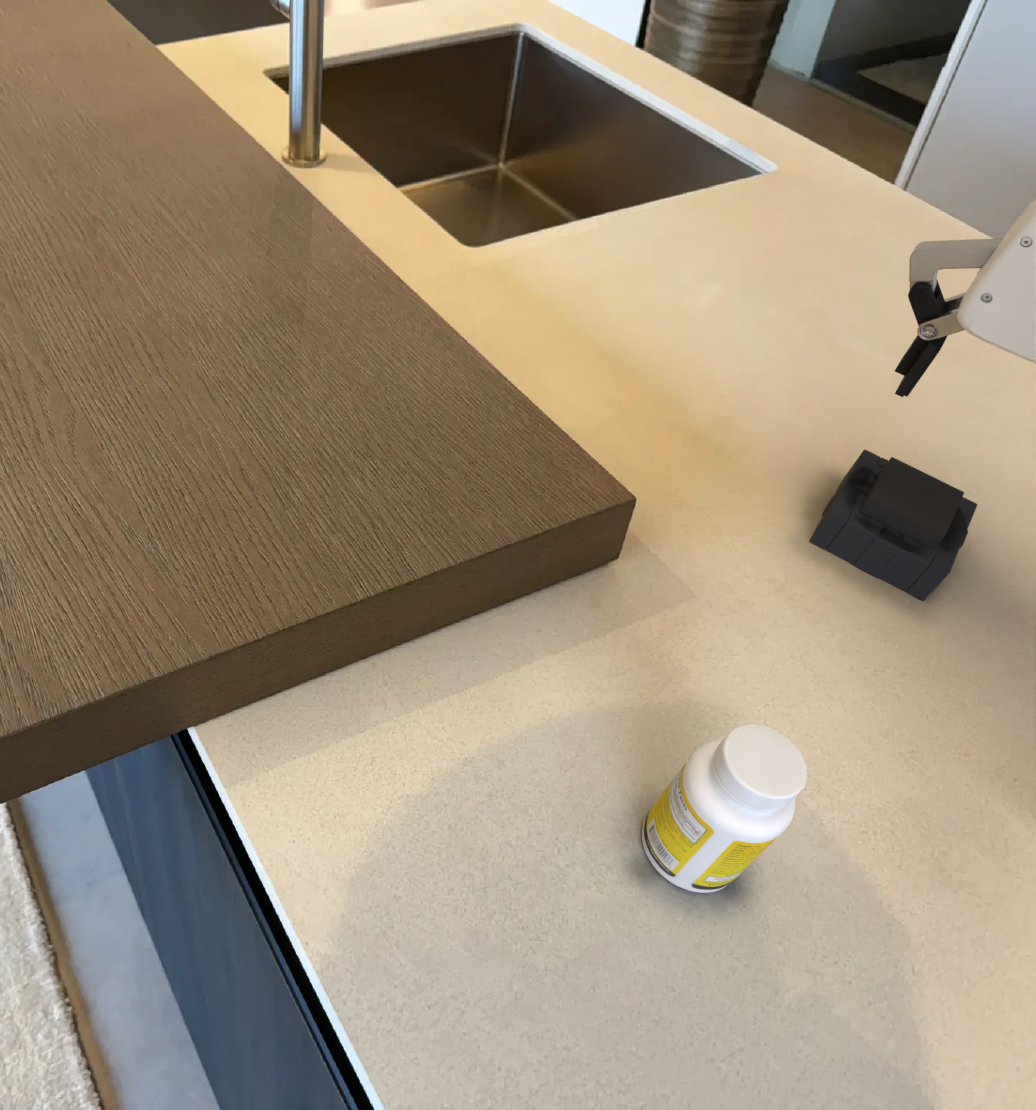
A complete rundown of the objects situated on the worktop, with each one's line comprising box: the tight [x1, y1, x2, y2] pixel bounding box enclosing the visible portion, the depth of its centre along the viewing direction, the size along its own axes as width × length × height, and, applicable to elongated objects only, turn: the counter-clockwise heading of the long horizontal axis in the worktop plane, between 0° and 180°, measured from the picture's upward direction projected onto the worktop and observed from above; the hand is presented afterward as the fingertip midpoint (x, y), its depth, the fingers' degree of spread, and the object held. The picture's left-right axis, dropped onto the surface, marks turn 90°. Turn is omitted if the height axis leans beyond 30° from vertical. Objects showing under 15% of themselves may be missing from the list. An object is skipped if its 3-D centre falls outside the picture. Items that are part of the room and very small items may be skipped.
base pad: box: [809, 449, 978, 602], centre depth 72 cm, size 8×8×3 cm
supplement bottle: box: [641, 723, 808, 894], centre depth 53 cm, size 5×5×10 cm
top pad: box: [859, 456, 965, 549], centre depth 71 cm, size 5×5×4 cm
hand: (983, 420), depth 64 cm, fingers open, 9 cm apart
